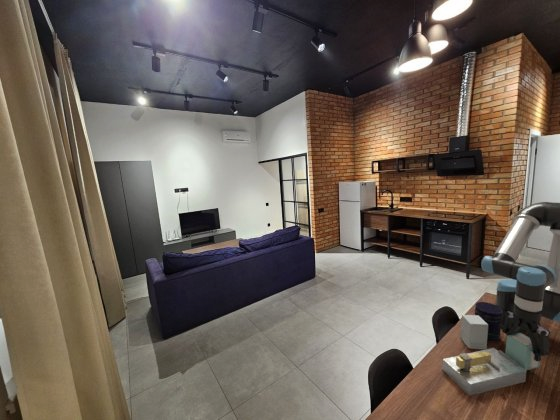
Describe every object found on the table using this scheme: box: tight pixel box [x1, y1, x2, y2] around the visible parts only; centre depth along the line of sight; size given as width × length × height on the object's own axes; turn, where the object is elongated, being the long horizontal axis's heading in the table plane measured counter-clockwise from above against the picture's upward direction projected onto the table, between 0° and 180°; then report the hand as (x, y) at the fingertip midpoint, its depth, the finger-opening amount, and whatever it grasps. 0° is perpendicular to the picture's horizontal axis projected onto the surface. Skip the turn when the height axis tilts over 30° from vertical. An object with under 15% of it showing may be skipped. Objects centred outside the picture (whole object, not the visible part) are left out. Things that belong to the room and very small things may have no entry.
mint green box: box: [504, 333, 541, 371], centre depth 95 cm, size 7×7×10 cm
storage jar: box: [474, 301, 502, 343], centre depth 115 cm, size 10×10×15 cm
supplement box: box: [460, 314, 488, 350], centre depth 111 cm, size 7×7×13 cm
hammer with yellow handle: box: [456, 351, 491, 372], centre depth 93 cm, size 3×14×5 cm, turn 98°
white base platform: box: [442, 347, 528, 396], centre depth 95 cm, size 25×12×6 cm, turn 99°
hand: (521, 358), depth 96 cm, fingers closed on mint green box, 7 cm apart
